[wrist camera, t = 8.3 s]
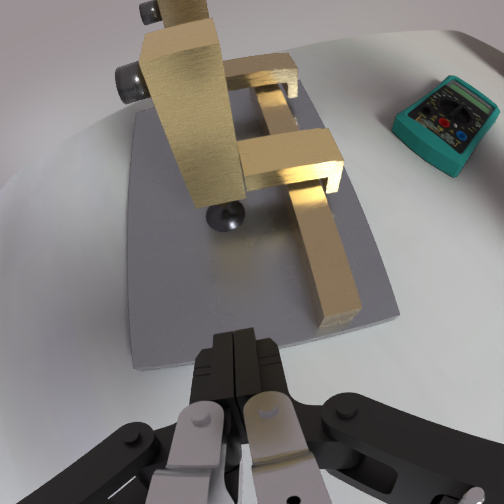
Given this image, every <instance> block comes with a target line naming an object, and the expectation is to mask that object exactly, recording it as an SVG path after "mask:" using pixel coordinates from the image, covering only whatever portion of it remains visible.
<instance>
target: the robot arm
mask: <svg viewBox="0 0 504 504" xmlns="http://www.w3.org/2000/svg"><path fill="white" fill-rule="evenodd" d="M248 443H249V446H250V452H251V457H252V463H253V465H252V475H253V480H254V485H255V491H256V496H257V501H258V504H332V502H331V499H330V497H329V494H328V491H327V489H326V486H325V483H324V481H323V478H322V475H321V473H320V470H319V469H326V471H327V472H328V473H329V474H331V475H333V476H334V477H336V478H338V479H340V480H342V481H344V482H345V483H347V484H349V485H351V486H353V487H355V488H357V489H359V490H361V491H363V492H365V493H367V494H369V495H371V496H373V497H375V498H377V499H379V500H381V501H383V502H385V503H388V504H504V444H501V443H497V442H494V441H490V440H487V439H483V438H480V437H477V436H473V435H470V434H467V433H464V432H461V431H458V430H454V429H451V428H448V427H445V426H442V425H440V424H437V423H434V422H431V421H428V420H425V419H422V418H420V417H417V416H414V415H411V414H409V413H406V412H403V411H401V410H398V409H395V408H393V407H390V406H388V405H385V404H383V403H380V402H378V401H375V400H373V399H370V398H368V397H365V396H363V395H360V394H357V393H351V392H347V393H340V394H337V395H335V396H332V397H331V398H329V399H328V400H327V401H326V402H325V403H324V405H306V404H302V403H299V402H297V401H296V400H294V399H293V398H292V397H291V396H290V394H289V392H288V388H287V383H286V379H285V375H284V371H283V366H282V362H281V358H280V353H279V349H278V345H277V344H276V343H275V342H274V341H273V340H272V339H271V338H265V339H259V340H256V336H255V331H254V327H251V328H246V329H240V330H235V331H234V332H233V331H229V332H223V333H217V334H214V335H213V345H212V348H206V349H202V350H201V351H200V353H199V354H198V355H197V357H196V358H195V365H194V372H193V380H192V387H191V395H190V403H189V406H187V407H186V408H184V409H183V410H182V412H181V413H180V415H179V417H178V421H177V422H176V423H174V424H172V425H170V426H167V427H164V428H161V429H157V430H154V431H153V429H152V428H151V427H150V426H149V425H147V424H146V423H142V422H132V423H128V424H125V425H123V426H122V427H120V428H119V429H118V430H116V431H115V432H114V433H112V434H111V435H110V436H109V437H107V438H106V439H105V440H103V441H102V442H101V443H100V444H98V445H97V446H96V447H94V448H93V449H92V450H90V451H89V452H88V453H86V454H85V455H84V456H82V457H81V458H80V459H78V460H77V461H76V462H74V463H73V464H72V465H70V466H69V467H68V468H66V469H65V470H63V471H62V472H61V473H59V474H58V475H57V476H55V477H54V478H52V479H51V480H50V481H48V482H47V483H45V484H44V485H43V486H41V487H40V488H38V489H37V490H35V491H34V492H32V493H31V494H30V495H28V496H27V497H25V498H24V499H22V500H21V501H19V502H18V503H16V504H242V483H243V460H242V450H241V444H248ZM134 476H136V477H135V478H134V479H133V480H132V481H131V482H129V483H128V484H127V485H126V486H125V487H123V488H122V489H121V490H120V491H119V492H117V493H116V494H115V495H114V496H112V497H111V498H109V499H108V497H109V496H111V495H112V494H113V493H114V492H116V491H117V490H118V489H119V488H120V487H122V486H123V485H124V484H125V483H127V482H128V481H129V480H130V479H131V478H133V477H134Z"/></svg>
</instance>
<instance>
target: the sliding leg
mask: <svg viewBox="0 0 504 504" xmlns="http://www.w3.org/2000/svg"><path fill="white" fill-rule="evenodd" d="M115 81H116V87H117V90H118V93H119V96H120V98H121V100H122V101H123V103H125V104H129V103H133V102H136V101H139V100H142V99H146V98H149V97H152V100H153V103H154V105H155V108H156V110H157V113H158V116H159V118H160V121H161V123H162V126H163V128H164V131H165V134H166V136H167V139H168V141H169V144H170V146H171V149H172V151H173V154H174V156H175V159H176V161H177V164H178V166H179V169H180V171H181V174H182V176H183V179H184V181H185V183H186V186H187V188H188V191H189V193H190V196H191V198H192V200H193V203H194V205H195V208H196V209H198V208H202V207H207V206H212V205H216V204H217V205H218V206H219V207H225V206H227V205H228V204H229V202H231V201H236V200H240V199H245V198H246V194H245V188H244V182H243V177H244V181H245V186H246V190H247V191H252V190H258V189H263V188H268V187H273V186H279V185H284V184H290V183H296V182H301V181H307V180H313V179H319V178H320V180H321V183H322V186H323V188H324V191H325V193H326V194H327V193H333V192H337V191H338V187H339V182H340V178H341V173H342V169H343V164H344V159H343V157H342V155H341V153H340V151H339V149H338V147H337V145H336V143H335V141H334V139H333V137H332V135H331V133H330V131H329V129H328V128H326V129H321V128H316V129H309V130H301V131H294V132H288V133H281V134H275V135H269V136H263V137H257V138H252V139H246V140H241V141H236V136H235V130H234V124H233V118H232V113H231V107H230V101H229V95H228V90H227V84H226V78H225V72H224V67H223V61H222V55H221V50H220V44H219V40H218V36H217V33H216V29H215V25H214V22H213V18H208V19H203V20H198V21H194V22H189V23H185V24H181V25H177V26H173V27H169V28H165V29H162V30H158V31H154V32H151V33H147V34H145V38H144V42H143V46H142V50H141V55H140V59H139V61H136V62H133V63H130V64H128V65H124V66H121V67H118V68H117V69H116V72H115ZM240 163H241V165H240ZM241 168H242V171H241ZM242 172H243V177H242Z"/></svg>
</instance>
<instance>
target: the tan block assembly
mask: <svg viewBox="0 0 504 504" xmlns="http://www.w3.org/2000/svg"><path fill="white" fill-rule="evenodd" d="M139 9H140V15H141V18H142V21H143V23H144V25H148V24H152V23H155V22H159V21H163V23H164V27H165V28H169V27H173V26H177V25H181V24H185V23H189V22H194V21H198V20H203V19H208V18H209V13H208V8H207V3H206V0H152V1H148V2H145V3H142V4H140V5H139ZM223 67H224V72H225V78H226V84H227V90H228V91H233V90H238V89H244V88H249V90H250V93H251V96H252V99H253V102H254V105H255V108H256V111H257V114H258V117H259V120H260V123H261V127H262V130H263V133H264V136H269V135H275V134H281V133H288V132H294V131H299V129H298V127H297V125H296V122H295V120H294V118H293V116H292V113H291V111H290V109H289V107H288V104H287V102H286V100H285V98H284V96H283V93H282V91H281V89H280V87H279V85H278V83H281V84H282V86H283V88H284V91H285V93H286V95H287V97H288V98H294V97H297V89H298V68H297V66H296V65H295V63H294V61H293V60H292V58H291V56H290V55H289V53H281V54H279V53H272V54H264V55H257V56H250V57H244V58H238V59H232V60H226V61H223ZM280 188H281V191H282V195H283V198H284V202H285V205H286V208H287V212H288V215H289V219H290V222H291V226H292V229H293V233H294V236H295V240H296V244H297V247H298V251H299V255H300V258H301V262H302V266H303V269H304V273H305V277H306V281H307V284H308V288H309V292H310V296H311V300H312V304H313V308H314V312H315V316H316V320H317V324H318V328H321V327H325V326H329V325H333V324H337V323H341V322H345V321H349V320H352V319H353V318H354V317H355V316H356V315H357V313H358V312H359V311H360V310H361V309H362V305H361V301H360V298H359V295H358V291H357V288H356V285H355V281H354V278H353V275H352V272H351V269H350V266H349V263H348V259H347V256H346V253H345V250H344V247H343V244H342V242H341V239H340V236H339V233H338V230H337V227H336V224H335V221H334V219H333V216H332V213H331V210H330V208H329V205H328V202H327V199H326V197H325V194H324V191H323V189H322V186H321V184H320V181H319V179H313V180H307V181H301V182H296V183H290V184H284V185H280Z"/></svg>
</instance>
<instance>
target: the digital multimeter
mask: <svg viewBox="0 0 504 504" xmlns="http://www.w3.org/2000/svg"><path fill="white" fill-rule="evenodd" d="M470 113H471V114H470ZM499 113H500V110H499V109H498V107H497V105H496V104H495V103H493V102H492V101H491V100H490V99H489V98H487V97H486V96H485V95H483V94H482V93H481V92H479V91H478V90H477V89H475V88H474V87H472V86H471V85H469V84H468V83H466V82H464V81H463V80H461V79H460V78H458V77H456V76H451V75H450V76H448V77H447V78H446V79H444V80H443V81H442V82H441V83H440V84H439V85H438V86H437V87H436V88H434V89H433V90H432V91H431V92H429V93H428V94H427V95H426V96H424V97H423V98H421V99H420V100H418V101H417V102H415V103H414V104H412V105H411V106H409V107H408V108H406V109H405V110H403V111H401V112H400V113H398V114H397V115H396V117H395V121H394V124H393V127H392V131H393V132H394V133H395V134H396V135H397V136H398V137H399V138H400V139H401V140H402V141H403V142H404V143H405V144H406V145H407V146H408V147H409V148H410V149H412V150H413V151H414V152H415V153H416V154H418V155H419V156H420V157H422V158H423V159H424V160H425V161H427V162H429V163H430V164H432V165H433V166H435V167H436V168H438V169H440V170H441V171H443V172H445V173H446V174H448V175H450V176H451V177H457V176H458V174H459V173H460V171H461V169H462V168H463V166H464V164H465V163H466V161H467V160H468V158H469V157H470V155H471V154H472V152H473V150H474V149H475V147H476V146H477V144H478V143H479V142H480V140H481V139H482V138H483V136H484V135H485V134H486V132H487V131H488V130H489V129H490V128H491V126H492V125H493V124H494V123H495V121H496V119H497V117H498V115H499ZM472 121H473V122H472ZM472 139H473V140H472ZM469 143H470V144H469ZM466 147H467V148H466Z"/></svg>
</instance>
